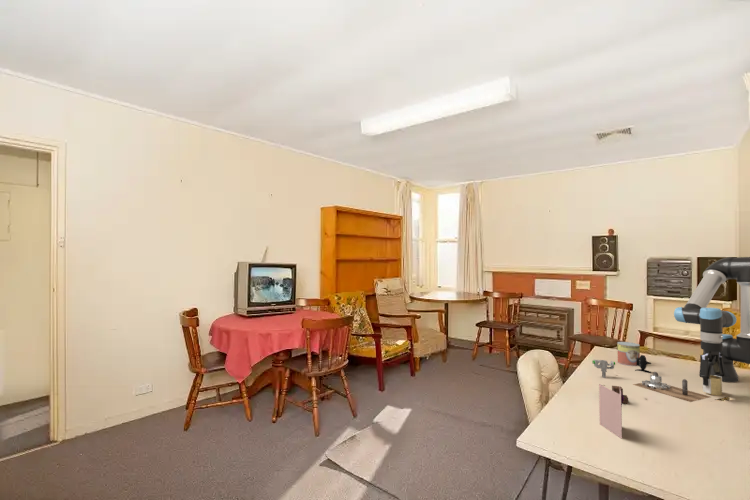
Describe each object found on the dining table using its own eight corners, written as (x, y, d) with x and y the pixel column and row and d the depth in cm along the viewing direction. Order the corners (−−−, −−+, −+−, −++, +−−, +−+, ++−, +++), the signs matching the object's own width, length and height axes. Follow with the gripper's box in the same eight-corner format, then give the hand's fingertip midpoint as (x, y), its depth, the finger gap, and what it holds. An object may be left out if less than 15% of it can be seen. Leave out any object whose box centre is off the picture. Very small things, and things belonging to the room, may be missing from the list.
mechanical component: (616, 381, 187) (615, 362, 187) (594, 380, 189) (594, 360, 189) (613, 379, 189) (613, 360, 190) (592, 378, 192) (591, 359, 192)
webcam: (634, 370, 207) (634, 352, 207) (651, 372, 202) (650, 354, 203) (634, 373, 200) (634, 355, 201) (651, 376, 196) (651, 357, 196)
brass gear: (704, 390, 174) (704, 371, 174) (734, 398, 164) (734, 378, 164) (691, 393, 170) (691, 374, 170) (721, 402, 159) (720, 381, 160)
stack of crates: (633, 398, 165) (632, 383, 165) (641, 411, 151) (640, 394, 151) (594, 393, 171) (594, 379, 171) (599, 405, 157) (598, 389, 157)
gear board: (652, 383, 184) (652, 366, 184) (711, 400, 162) (711, 381, 162) (632, 387, 178) (632, 370, 178) (690, 405, 156) (690, 385, 156)
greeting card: (624, 439, 125) (624, 395, 125) (599, 434, 129) (599, 391, 129) (623, 427, 135) (622, 386, 135) (599, 422, 139) (599, 382, 139)
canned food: (623, 365, 217) (622, 345, 217) (614, 360, 228) (613, 341, 228) (644, 366, 215) (643, 346, 215) (633, 361, 226) (633, 342, 226)
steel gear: (650, 381, 183) (650, 371, 183) (675, 388, 172) (675, 377, 173) (636, 384, 178) (636, 373, 179) (661, 391, 168) (661, 380, 168)
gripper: (708, 345, 160) (709, 397, 159) (734, 341, 168) (735, 391, 167) (688, 341, 167) (689, 391, 166) (714, 338, 175) (715, 385, 174)
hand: (712, 391), depth 167 cm, fingers open, 8 cm apart
